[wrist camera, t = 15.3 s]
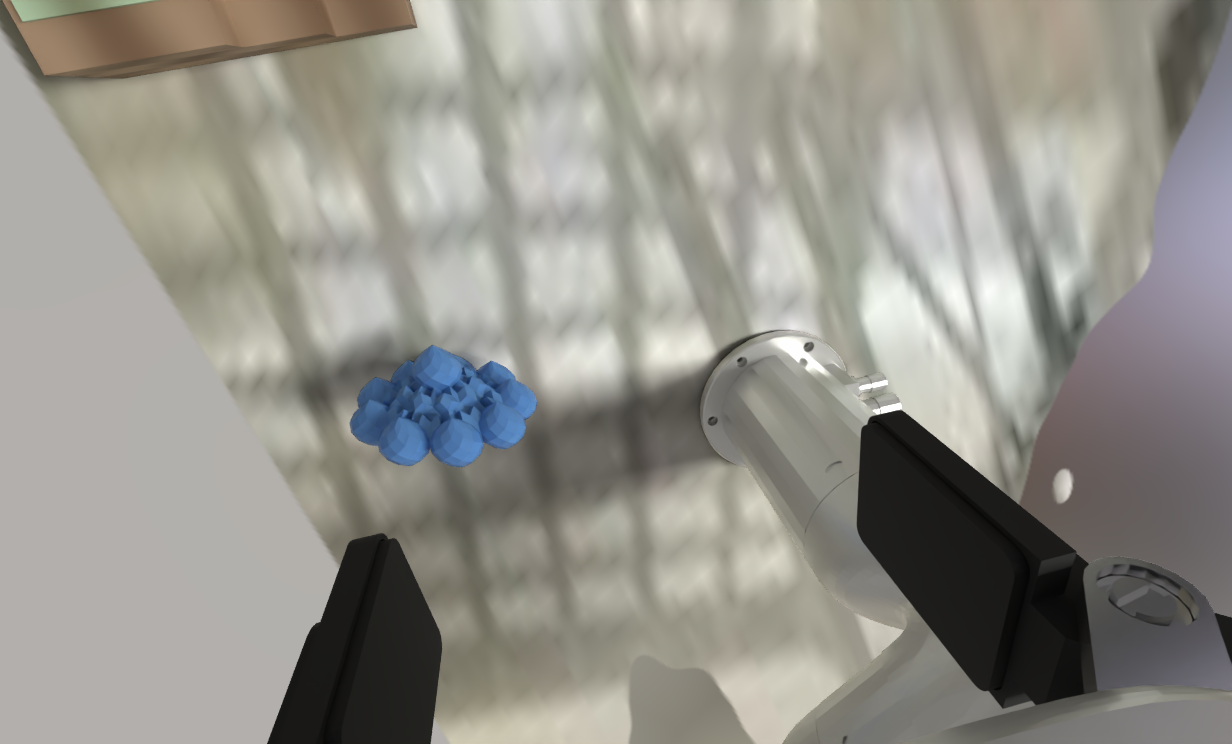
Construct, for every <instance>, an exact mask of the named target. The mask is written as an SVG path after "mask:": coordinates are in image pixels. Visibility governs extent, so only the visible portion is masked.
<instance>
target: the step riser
mask: <svg viewBox="0 0 1232 744" xmlns="http://www.w3.org/2000/svg"><path fill="white" fill-rule="evenodd" d="M2 1H3V2H4V4H5V6H6V8H7V10H8V11H9V13H10V15H11V17H12V18H13V20H14V22H15V24H16V26H17V27H18V29H19V31H20V33H21V34H22V36H23V38H24V40H25V42H26V43H27V45H28V47H29V49H30V50H31V52H32V54H33V56H34V58H35V59H36V61H37V63H38V65H39V66H40V68H41V70H42V72H43V74H44V75H45V76H74V77H103V78H129V77H135V76H140V75H146V74H152V73H158V72H163V71H169V70H175V69H181V68H186V67H192V66H198V65H204V64H210V63H215V62H221V61H227V60H233V59H238V58H244V57H250V56H256V55H261V54H267V53H273V52H279V51H285V50H290V49H296V48H302V47H308V46H313V45H319V44H325V43H331V42H336V41H342V40H348V39H354V38H360V37H365V36H371V35H377V34H383V33H388V32H394V31H400V30H406V29H411V28H417V24H416V21H415V17H414V14H413V10H412V6H411V3H410V0H2Z"/></svg>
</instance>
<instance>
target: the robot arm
mask: <svg viewBox="0 0 1232 744" xmlns="http://www.w3.org/2000/svg"><path fill="white" fill-rule="evenodd" d="M739 358H740V359H739ZM886 387H887V379H886V377H885V375H884V374H883V373H881V372H879V373H874V374H870V375H866V376H864V377H861V378H857V379H856V378H855V377H854V376H850V375H848V373H847V371H846V368H845V365H844V363H843V361H842V359H841V358H840V357H839V355H838V354H837V352H836V351H835V350H833V349H832V348H831V347H830V346H829V345H828V344H826V343H825V342H823V341H822V340H821V339H819V338H818V337H815V336H813V335H810V334H808V333H805V332H798V331H792V330H790V331H775V332H771V333H766V334H762V335H760V336H757V337H755V338H753V339H750V340H748V341H746V342H745V343H743V344H741V345H740V346H738V347H737V348H735V349H734V350H733V351H732V352H730V353H729V354H728V355H727V356H726V357H725V358H724V359H723V360H722V361H721V362H720V363H719V364H718V366H717V367H716V368H715V369H714V371H713V372H712V374H711V376H710V377H709V379H708V381H707V383H706V385H705V388H704V391H703V394H702V397H701V404H700V421H701V424H702V428H703V431H704V433H705V435H706V437H707V439H708V441H709V443H710V444H711V445H712V447H713V448H714V450H715V451H716V452H717V453H718V454H719V455H721V456H722V457H723V458H724V459H726V460H728V461H730V462H732V463H733V464H736V465H739V466H742V467H746V468H748V469H749V471H750V473H751V474H752V476H753V477H754V479H755V480H756V482H757V484H758V485H759V487H760V488H761V490H762V491H763V493H764V495H765V496H766V498H767V499H768V501H769V503H770V504H771V506H772V507H773V509H774V510H775V512H776V514H777V515H778V517H779V518H780V520H781V522H782V523H783V525H784V526H785V528H786V529H787V531H788V533H789V534H790V536H791V537H792V539H793V540H794V542H795V544H796V545H797V547H798V548H799V550H800V552H801V553H802V555H803V556H804V558H805V559H806V561H807V563H808V564H809V566H810V567H811V569H812V570H813V572H814V574H815V575H816V577H817V578H818V580H819V581H820V582H821V584H822V585H823V586H824V588H825V589H826V590H827V591H828V592H829V593H830V594H831V595H832V596H833V597H834V598H835V599H836V600H837V601H839V602H840V603H841V604H843V605H844V606H846V607H847V608H848V609H850V610H852V611H853V612H855V613H857V614H859V615H861V616H864V617H866V618H868V619H871V620H873V621H876V622H879V623H882V624H885V625H888V626H891V627H895V628H898V629H902V630H904V631H903V633H902V634H901V635H900V636H899V637H898V638H897V639H896V640H895V641H894V642H893V643H892V644H890V645H889V646H888V647H887V648H886V649H885V650H883V651H882V654H881V655H879V656H878V657H877V658H876V659H874V660H873V661H872V662H871V663H869V664H868V665H867V666H866V667H864V668H863V669H862V670H861V671H859V672H858V673H857V674H856V675H854V676H853V677H852V678H851V679H850V680H848V681H847V682H846V683H845V684H843V685H842V686H841V687H840V688H838V689H837V690H836V691H835V692H833V693H832V694H831V695H830V696H828V697H827V698H826V699H825V700H823V701H822V702H821V703H820V704H819V705H818V706H817V707H816V708H814V709H813V710H812V711H811V712H810V713H808V714H807V715H806V716H805V717H804V718H803V719H802V720H801V721H800V722H799V723H798V724H796V726H795V727H794V728H793V729H792V730H791V731H790V733H789V734H788V735H787V737H786V738H785V740H784V742H783V744H1232V618H1231V617H1227V616H1224V615H1220V614H1217V613H1214V611H1213V609H1212V607H1211V605H1210V604H1209V602H1208V600H1207V598H1206V597H1205V596H1204V595H1203V594H1202V593H1201V592H1200V591H1199V590H1198V589H1197V588H1196V587H1195V586H1194V585H1193V584H1191V583H1190V582H1188V581H1186V580H1185V579H1184V578H1182V577H1180V576H1179V575H1178V574H1176V573H1174V572H1172V571H1169V570H1167V569H1165V568H1163V567H1161V566H1159V565H1156V564H1153V563H1149V562H1146V561H1143V560H1139V559H1134V558H1127V557H1120V556H1118V557H1103V558H1100V559H1098V560H1095V561H1092V562H1091V563H1090V564H1088V563H1087V562H1086V561H1085V560H1083V559H1082V558H1081V557H1080V556H1079V555H1077V554H1076V551H1075V550H1074V549H1073V548H1071V547H1070V546H1069V545H1068V544H1066V543H1065V542H1064V541H1063V540H1061V539H1060V538H1059V537H1058V536H1057V535H1055V534H1054V533H1053V532H1052V531H1051V530H1049V529H1048V528H1047V527H1046V526H1044V525H1043V524H1042V523H1041V522H1039V521H1038V520H1037V519H1036V518H1034V517H1033V516H1032V515H1031V514H1030V513H1028V512H1027V511H1026V510H1025V509H1023V508H1022V507H1021V506H1020V505H1018V504H1017V503H1016V502H1015V501H1014V500H1012V499H1011V498H1010V497H1009V496H1007V495H1006V494H1005V493H1004V492H1002V491H1001V490H1000V489H999V488H998V487H996V486H995V485H994V484H993V483H991V482H990V481H989V480H988V479H986V478H985V477H984V476H983V475H982V474H980V473H979V472H978V471H977V470H975V469H974V468H973V467H972V466H970V465H969V464H968V463H967V462H965V461H964V460H963V459H962V458H961V457H959V456H958V455H957V454H956V453H954V452H953V451H952V450H951V449H949V448H948V447H947V446H946V445H945V444H943V443H942V442H941V441H940V440H938V439H937V438H936V437H935V436H933V435H932V434H931V433H930V432H929V431H927V430H926V429H925V428H924V427H922V426H921V425H920V424H919V423H917V422H916V421H915V420H914V419H912V418H911V417H910V416H909V415H908V414H906V413H905V412H903V411H902V410H901V403H900V401H899V398H898V397H897V396H896V394H894V393H887V394H883V395H879V396H875V397H871V398H869V399H867V400H862V401H861V400H860V399H859V396H860V394H862V393H866V392H874V391H878V390H882V389H885V388H886ZM441 653H442V641H441V635H440V631H439V629H438V627H437V624H436V622H435V620H434V618H433V616H432V614H431V611H430V609H429V607H428V605H427V603H426V601H425V598H424V596H423V594H422V592H421V590H420V588H419V585H418V583H417V581H416V579H415V577H414V575H413V572H412V570H411V568H410V566H409V564H408V562H407V559H406V557H405V555H404V553H403V551H402V549H401V546H400V544H399V542H398V541H397V540H396V539H395V538H392V539H388V538H387V536H386V535H385V534H383V533H380V534H376V535H372V536H368V537H363V538H359V539H355V540H352V541H351V542H349V544H348V546H347V549H346V552H345V554H344V557H343V560H342V563H341V566H340V568H339V571H338V574H337V577H336V580H335V583H334V585H333V588H332V591H331V594H330V596H329V600H328V602H327V605H326V608H325V611H324V613H323V616H322V619H321V622H319V623H316V624H315V625H314V626H313V627H312V628H311V630H310V632H309V634H308V636H307V638H306V641H305V643H304V646H303V649H302V651H301V654H300V657H299V659H298V662H297V665H296V667H295V670H294V673H293V676H292V678H291V681H290V684H289V686H288V689H287V692H286V695H285V697H284V700H283V703H282V705H281V708H280V711H279V713H278V716H277V719H276V721H275V724H274V727H273V729H272V732H271V735H270V737H269V741H268V743H267V744H431V736H432V727H433V719H434V711H435V703H436V695H437V686H438V678H439V670H440V662H441Z"/></svg>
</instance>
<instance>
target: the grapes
mask: <svg viewBox="0 0 1232 744" xmlns="http://www.w3.org/2000/svg"><path fill="white" fill-rule="evenodd" d="M357 401H358V407H359V409H358V410H357V411H356V412H355V413H354V414H353V416H352V419H351V421H350V428H351V433H352V434H353V435H354V436H355V437H356V438H357V439H358V440H359V441H361V442H364V443H366V444H368V445H373V446H378V447H379V452H380V453H381V454H382V455H383V456H384V457H385V458H386V459H387V460H389V461H391V462H393V463H396V464H398V465H404V466H412V465H414V464H416V463H418V462H420V461H421V460H422V459H423V458H424V457H425V456H426V455H427V454H428V453H429V450H430V448H431V452H432V454H433V455H434V456H435V457H436V458H437V459H438V460H439V461H441V462H443V463H445V464H447V465H450V466H454V467H464V466H467V465H468V464H470V463H472V462H474V461H475V460H476V458H477V457H478V456H479V455H480V454H481V452H482V449H483V446H484V442H485V443H486V444H488V445H491V446H493V447H495V448H499V449H507V448H510V447H512V446H513V445H515V444H517V443H518V442H519V441H520V440H521V439H522V438H523V437H524V433H525V430H526V424H525V421H524V420H526V419H528V418H529V417H530V416H531V415H532V414H533V413H534V412H535V409H536V406H537V400H536V397H535V394H534V393H533V392H532V391H531V390H530V389H529V388H528V387H527V386H526V385H524V384H522V383H520V382H518V381H516V379H515V376H514V375H513V374H512V373H511V372H510V371H509V370H508V369H507V368H506V367H504V366H502V365H500V364H498V363H496V362H493V361H490V362H488V363H487V364H485V365H484V366H482V367H481V368H480V369H479V370H478V371H476V368H474V367H473V366H472V365H471V364H470V363H469V362H468V361H466V360H465V359H463V358H461V357H459V356H456V355H453V354H451V353H449V352H447V351H445V350H443V349H441V348H439V347H436V346H434V345H431V346H430V347H428V348H427V349H426V350H424V351H423V352H422V353H421V354H420V355H419V356H418V357H417V358H416V359H415V361H414V362H412V361H409V360H408V361H407V362H405V363H404V364H402V365H401V366H400V367H399V368H398V369H397V370H396V371H395V372H394V374H393V376H392V379H391V382H389V381H386V380H384V379H380V378H377V377H375V378H374V379H372V380H371V381H370V382H369V383H368V384H367V385H366V386H365V387H364V388H363V389H362V390H361V391H360V394H359V396H358V398H357ZM483 441H484V442H483Z"/></svg>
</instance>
